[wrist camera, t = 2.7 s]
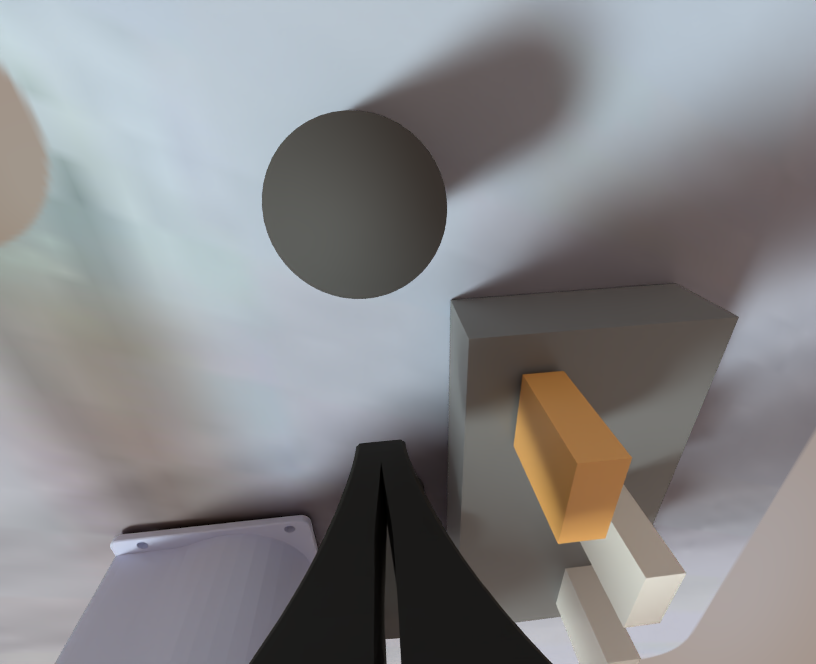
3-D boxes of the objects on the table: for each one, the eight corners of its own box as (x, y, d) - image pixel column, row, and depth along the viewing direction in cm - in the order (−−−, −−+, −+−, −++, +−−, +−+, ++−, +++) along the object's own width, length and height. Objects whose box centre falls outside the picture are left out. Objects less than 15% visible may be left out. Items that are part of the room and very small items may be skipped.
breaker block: (445, 573, 24) (473, 726, 18) (450, 300, 15) (507, 421, 9) (590, 555, 24) (663, 698, 18) (675, 283, 15) (868, 386, 10)
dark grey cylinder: (311, 237, 13) (281, 304, 8) (293, 115, 12) (241, 114, 7) (416, 230, 14) (446, 292, 9) (414, 111, 12) (448, 105, 7)
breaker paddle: (513, 446, 14) (558, 543, 11) (522, 374, 13) (577, 463, 10) (550, 442, 15) (605, 538, 11) (563, 370, 13) (631, 457, 10)
